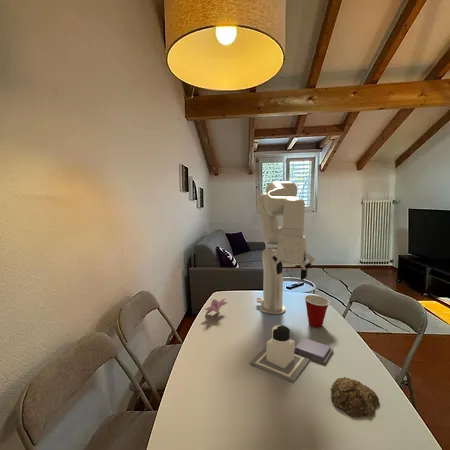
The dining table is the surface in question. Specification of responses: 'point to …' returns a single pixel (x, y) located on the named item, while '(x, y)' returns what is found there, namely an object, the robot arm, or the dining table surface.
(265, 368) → the marked mat
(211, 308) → the lily
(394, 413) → the dining table surface
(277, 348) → the medicine bottle
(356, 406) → the bread roll
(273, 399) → the dining table surface
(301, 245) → the robot arm
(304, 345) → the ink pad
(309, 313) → the plastic cup
